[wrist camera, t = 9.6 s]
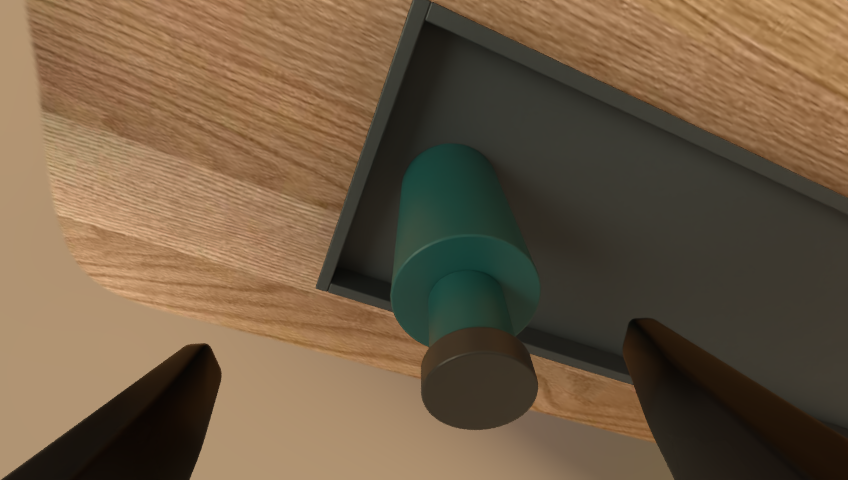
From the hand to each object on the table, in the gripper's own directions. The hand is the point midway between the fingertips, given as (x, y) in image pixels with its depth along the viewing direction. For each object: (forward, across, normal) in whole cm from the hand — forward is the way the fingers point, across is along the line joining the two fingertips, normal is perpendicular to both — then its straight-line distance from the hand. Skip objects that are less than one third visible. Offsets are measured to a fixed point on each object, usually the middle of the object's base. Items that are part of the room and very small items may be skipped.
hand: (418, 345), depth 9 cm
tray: (+11, -18, +9) cm, 23 cm away
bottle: (+11, -1, +1) cm, 11 cm away
